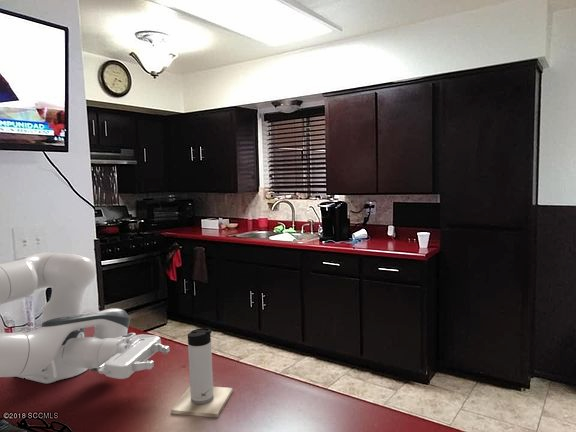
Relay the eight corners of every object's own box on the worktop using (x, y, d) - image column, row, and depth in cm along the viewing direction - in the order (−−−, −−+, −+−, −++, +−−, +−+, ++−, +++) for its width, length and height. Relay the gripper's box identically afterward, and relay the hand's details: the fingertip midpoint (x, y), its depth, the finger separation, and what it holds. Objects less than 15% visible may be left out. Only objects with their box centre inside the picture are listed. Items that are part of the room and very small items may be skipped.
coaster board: (171, 413, 112) (171, 409, 112) (190, 388, 125) (190, 384, 125) (217, 417, 110) (217, 413, 110) (232, 391, 122) (232, 388, 122)
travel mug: (209, 406, 113) (205, 335, 111) (186, 403, 115) (182, 333, 112) (218, 394, 119) (215, 326, 117) (197, 391, 121) (193, 324, 118)
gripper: (92, 360, 110) (140, 363, 108) (133, 330, 130) (175, 332, 128) (94, 383, 111) (142, 387, 108) (135, 349, 131) (176, 352, 128)
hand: (160, 357), depth 118 cm, fingers open, 8 cm apart
